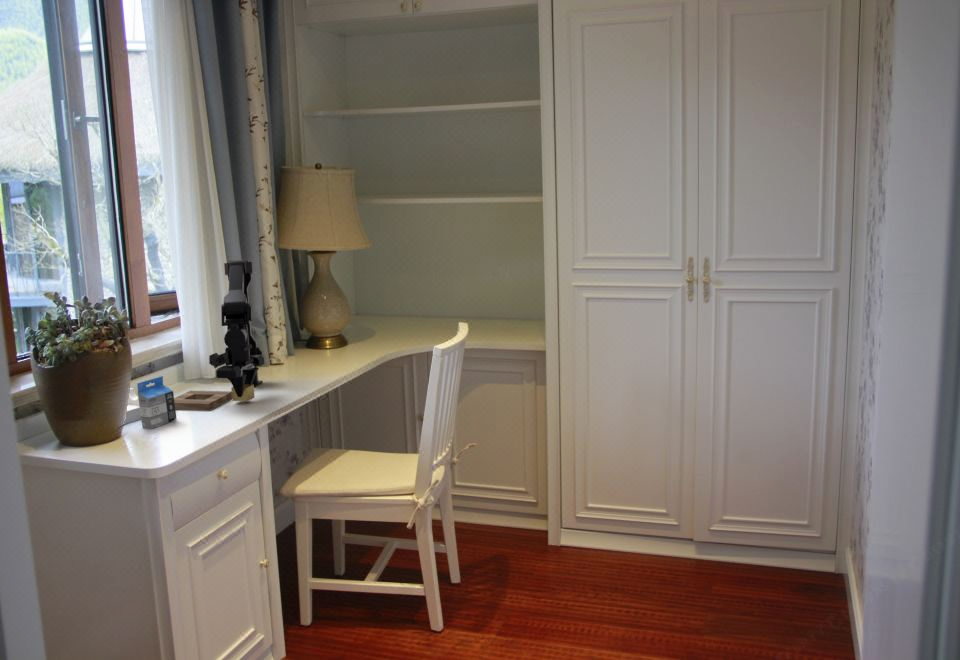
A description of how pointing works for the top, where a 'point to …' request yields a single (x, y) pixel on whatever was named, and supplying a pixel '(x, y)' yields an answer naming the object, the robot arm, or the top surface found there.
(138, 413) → the bracket
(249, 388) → the tan wooden block
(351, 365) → the top surface
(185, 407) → the brown square frame
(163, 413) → the label tape box
